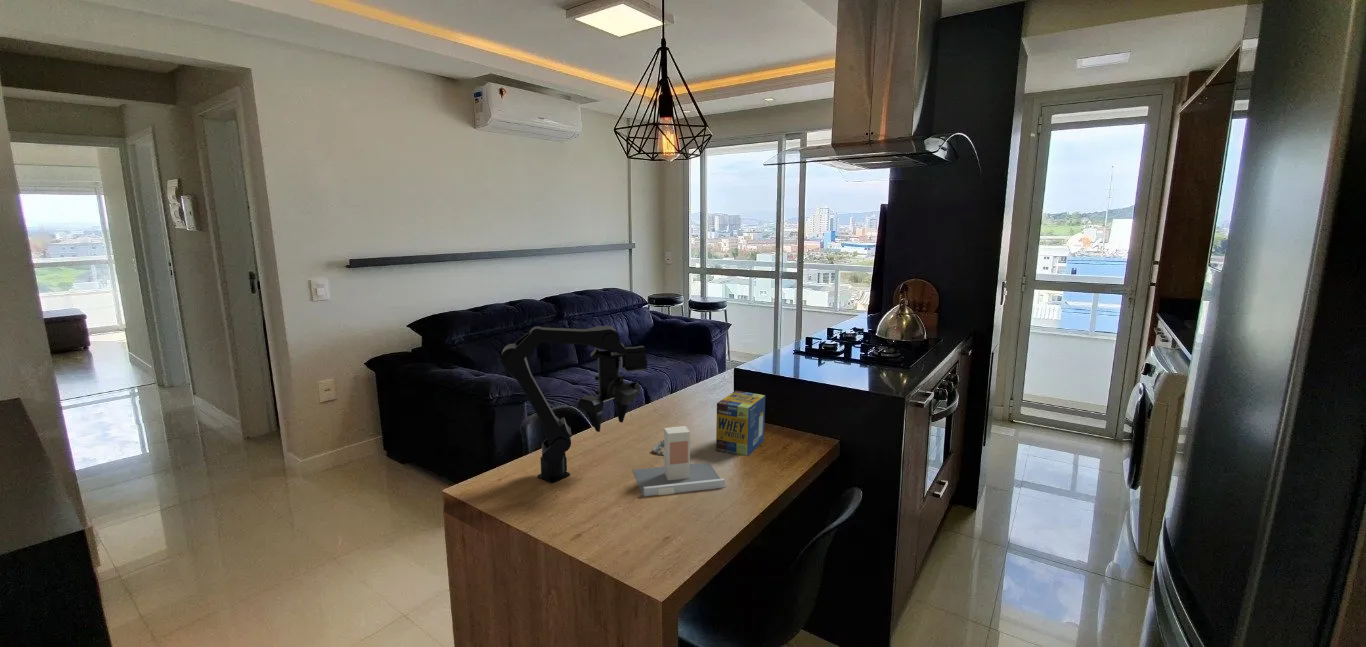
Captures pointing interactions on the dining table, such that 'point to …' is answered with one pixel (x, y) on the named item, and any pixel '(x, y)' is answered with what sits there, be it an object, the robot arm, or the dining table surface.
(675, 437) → the tea box
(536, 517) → the dining table surface
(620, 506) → the dining table surface
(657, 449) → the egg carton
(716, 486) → the shelf board
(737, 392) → the protein box
